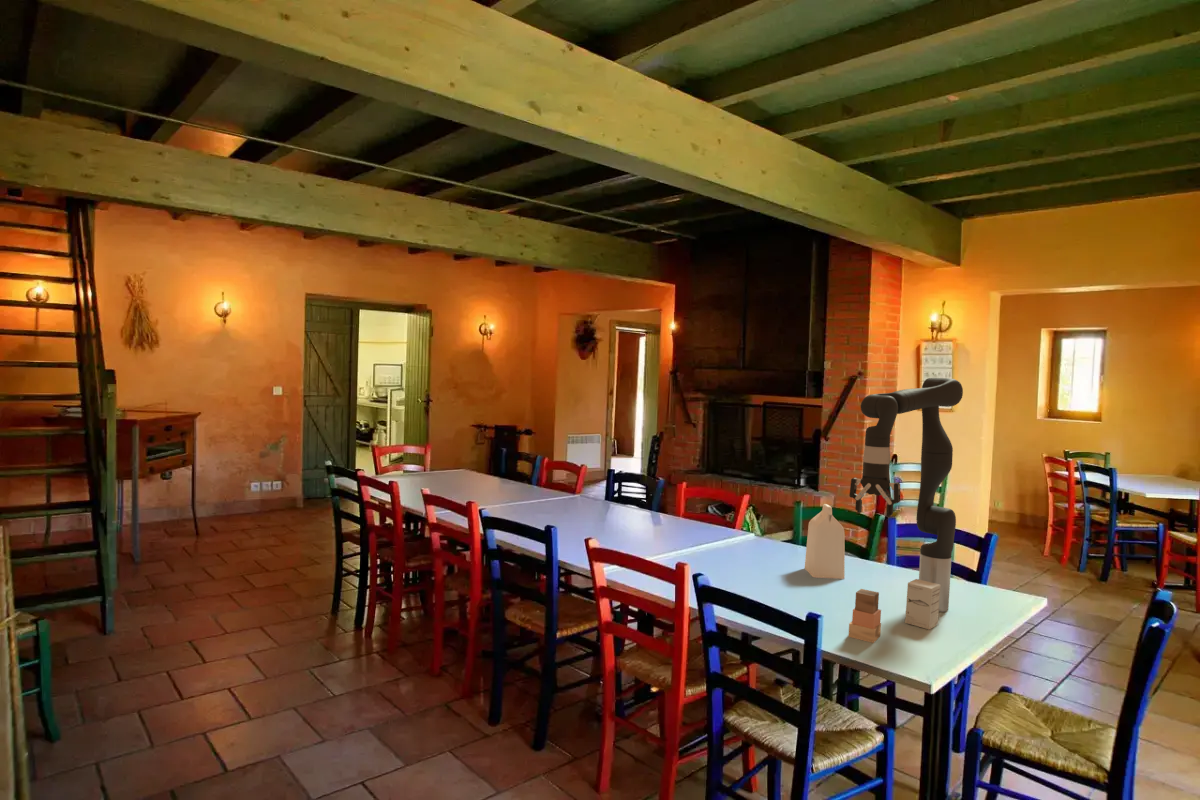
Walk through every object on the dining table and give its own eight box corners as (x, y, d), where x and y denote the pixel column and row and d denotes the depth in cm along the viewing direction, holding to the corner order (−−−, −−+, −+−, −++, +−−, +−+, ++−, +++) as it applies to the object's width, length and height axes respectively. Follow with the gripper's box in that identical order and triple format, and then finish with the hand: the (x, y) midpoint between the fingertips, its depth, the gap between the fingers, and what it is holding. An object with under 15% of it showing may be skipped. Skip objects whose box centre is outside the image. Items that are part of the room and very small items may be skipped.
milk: (844, 578, 258) (848, 509, 257) (813, 577, 258) (816, 507, 257) (834, 569, 270) (837, 503, 269) (804, 568, 270) (807, 502, 269)
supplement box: (904, 623, 212) (906, 582, 211) (913, 618, 217) (916, 578, 217) (929, 630, 207) (931, 588, 206) (938, 624, 212) (941, 583, 211)
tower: (859, 618, 204) (860, 604, 203) (880, 623, 200) (881, 609, 200) (852, 623, 199) (852, 609, 199) (873, 628, 195) (874, 614, 195)
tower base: (855, 630, 205) (856, 617, 204) (880, 636, 200) (881, 623, 200) (848, 637, 199) (849, 623, 199) (873, 643, 195) (874, 629, 195)
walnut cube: (860, 605, 203) (861, 588, 202) (877, 609, 200) (878, 592, 199) (854, 609, 199) (855, 592, 198) (873, 613, 196) (874, 596, 195)
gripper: (904, 462, 209) (901, 516, 209) (856, 457, 217) (853, 509, 218) (898, 464, 203) (895, 520, 203) (848, 459, 211) (845, 512, 212)
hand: (873, 514), depth 210 cm, fingers open, 8 cm apart
